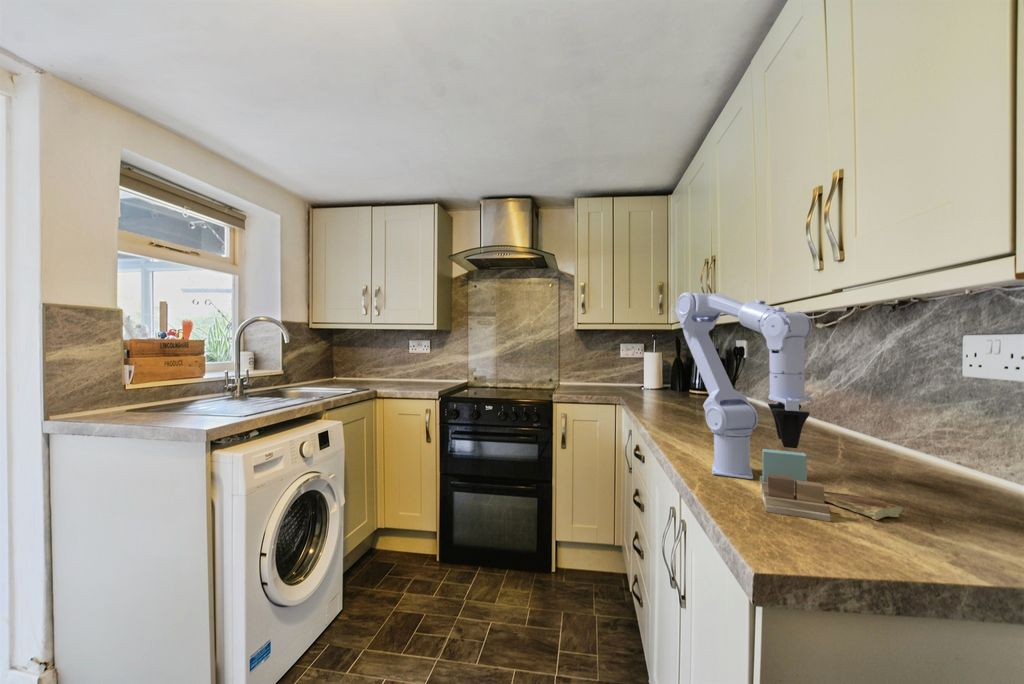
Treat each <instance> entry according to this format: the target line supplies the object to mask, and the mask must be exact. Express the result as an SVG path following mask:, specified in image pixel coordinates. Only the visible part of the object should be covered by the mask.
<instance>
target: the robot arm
mask: <svg viewBox="0 0 1024 684" xmlns="http://www.w3.org/2000/svg"><path fill="white" fill-rule="evenodd" d="M674 311H675V313H676V316H677V319H678V320H679V323H680V326H681V328H682V332H683V335H684V338H685V341H686V344H687V346H688V348H689V350H690V353H691V356H692V358H693V360H694V363H695V365H696V367H697V370H698V371H699V375H700V377H701V379H702V382H703V383H704V387H705V389H706V391H707V394H708V397H707V398H706V399H705V401H704V402H703V405H702V407H703V409H704V413H705V422H706V425H707V427H708V428H709V430H710V432H711V433H713V462H712V468H711V474H712V475H717V476H723V477H732V478H740V479H747V480H748V479H749V480H753V479H754V475H753V470H752V466H751V446H750V445H751V440H750V438H751V436H750V435H753V431H754V430H755V429H756V428H757V426H758V425H759V424H758V423H759V414H758V412H757V410H756V408H755V407H754V406H753V405H752V404H751V403H750V401H749V400H748V397H747V396H746V395H744V394H743V393H741V392H740V391H737V390H736V389H735V388H734V387H733V384H732V382H731V381H730V378H729V376H728V374H727V370H726V369H725V367H724V365H723V362H722V361H721V359H720V356H719V354H718V351H717V349H716V347H715V345H714V343H713V341H712V338H711V336H710V335H709V334H710V331H712V330H713V329H714V328H715V326H716V324H717V322H718V320H719V318H720V317H721V314H725V315H728V316H732V317H733V318H734V317H735V318H738V321H739V323H740V325H741V326H743V327H746V328H748V329H750V330H752V331H755V332H758V333H760V334H762V335H763V337H764V339H765V341H766V347H767V350H769V355H768V356H769V360H768V361H769V394H768V400H770V401H775V402H777V403H771V402H770V403H767V405H768V407H769V409H770V411H771V413H772V417H773V420H774V424H775V431H776V435H777V437H778V439H779V440H781V443H782V445H783V448H786V449H787V448H788V449H789V448H790V449H798V446H799V442H800V438H801V433H802V430H803V427H804V424H805V423H806V421H807V419H808V418H809V416H810V412H809V411H802V410H801V408H802V405H801V404H802V403H804V402H813V397H812V396H807V395H805V393H806V390H805V389H806V387H805V384H806V382H805V377H806V376H805V371H806V369H805V368H806V367H805V365H806V364H805V363H806V362H805V340H806V339H807V338H809V336H810V334H811V333H812V330H813V324H812V321H811V319H810V317H809V316H808V315H807V314H805V313H803V312H802V311H792V312H791V311H789V312H788V311H786V310H785V308H784V307H783V306H772V305H768V304H766V301H765V300H763V299H755V300H753V301H748V302H746V303H743V302H741V301H739V300H736V299H734V298H731V297H729V296H727V295H725V294H721V293H714V292H713V293H700V292H699V293H697V292H688V291H687V292H682V293H681V294H680V295H679V297H678V298H677V301H676V306H675V310H674ZM800 410H801V411H800Z"/></svg>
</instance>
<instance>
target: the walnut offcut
mask: <svg viewBox="0 0 1024 684" xmlns="http://www.w3.org/2000/svg"><path fill="white" fill-rule="evenodd" d="M767 496H770V497H777V498H784V499H791V500H794V480H793V478H792V477H788V476H779V475H771V474H767Z"/></svg>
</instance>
